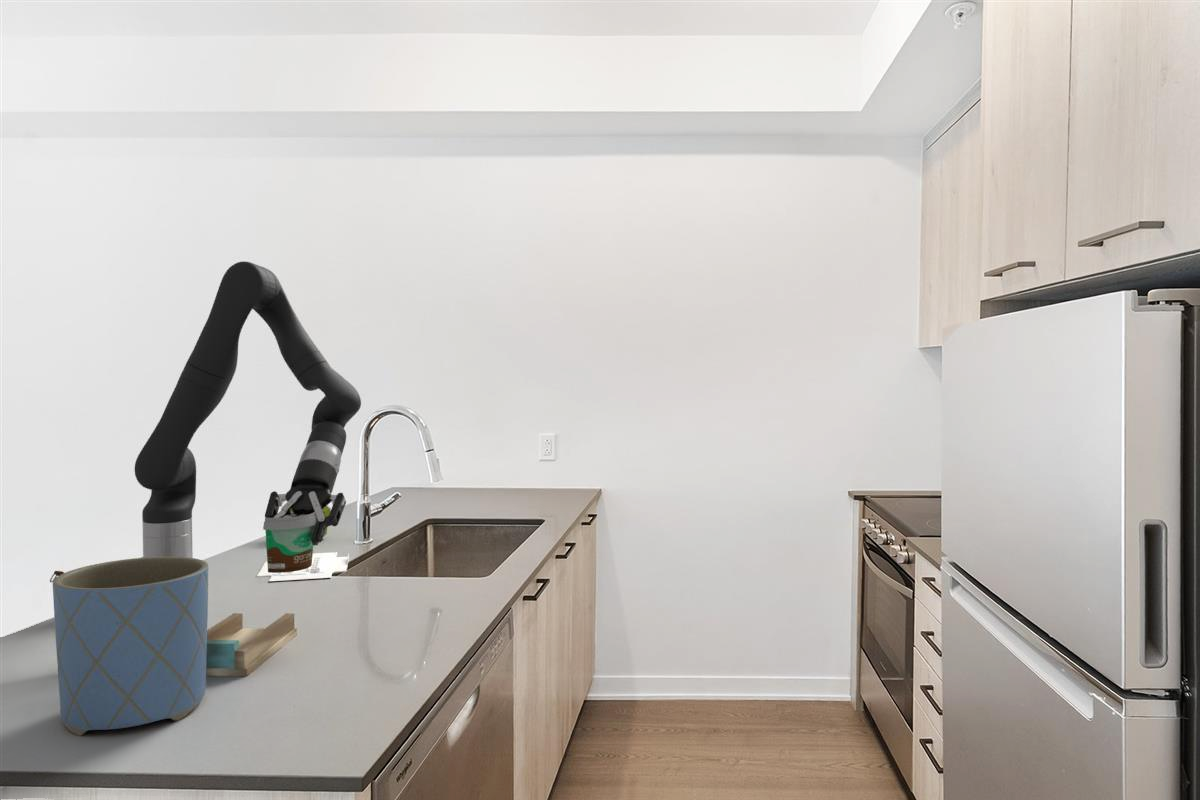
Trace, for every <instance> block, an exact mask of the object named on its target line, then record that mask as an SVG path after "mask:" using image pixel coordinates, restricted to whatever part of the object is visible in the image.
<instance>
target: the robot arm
mask: <svg viewBox="0 0 1200 800" xmlns="http://www.w3.org/2000/svg"><path fill="white" fill-rule="evenodd" d="M252 310H253V311H254V312H255V313H257V315H259V317H261V319H263V321H264V322H265V323H266V324H267V326H268V327H269V329H270V331H271V332H272V334H273V335H274V337H275V341H276V344H277V346H278V349H279V352H280V354H281V356H282V358H283V360H284V362H285V364H286V365H287V367H288V369H289V370H290V371H291V373H292V374H293V376H294V377H295V378H296V380H297V382H299V384H300V386H302V388H303V389H305V390H306V391H309V392H312V391H316V390H318V389H319V390H320V391H321V392H322V393H323V394H324V396H323V398H322V399H321V400H320V401H319V402H318V403H317V405H316V407H315V408H314V412H313V413H312V414H313V415H312V418H311V432H310V433H309V436H308V439H307V441H306V442H307V443H306V444H305V447H304V449H303V452H302V454H301V455H300V458H299V461H298V464H297V467H296V470H295V473H294V476H293V479H292V482H291V485H290V488H289V490H287V492H286V493H280V494H279V493H278V492H277V491H275V490H274V491H271V492H270V495H269V498H268V503H267V506H266V509H265V512H264V519H265V518H279V517H281V516H283V515H286V514H312V513H314V512H315V513H316V516H317V518H318V522H316V524H315V527H314V530H313V534H312V537H311V542H312V544H313V546H318V545H319V543H321V542H323V539H324V537H325V536H324V533H325V529H326V528H327V529H328V527H330V526H332V527H337V526H338V525H339V522H340V520H341V517H342V514H343V512H344V510H345V506H346V505H347V501H346V498H345V496H344V492H338V493H337V494H332V493H333V491H334V487H335V484H336V480H337V477H338V474H339V472H340V467H341V463H342V455H343V452H344V449H345V446H346V442H347V432H346V430H345V427H346V425H347V423H348V422H349V421H350V420H351V419H352V418H353V417H354V416H355V415H356V414H357V413H358V412H359V410H360V409H361V407H362V398H361V396H360V394H359V392H358V390H357V389H356V388H355V386H354V385H353V384H352V383H350V381H348V380H347V379H345V377H343V376H342V375H341V374H340V373H339V372H337V371H336V370H335V369H334V368H332V367H331V366H330V364H329V362H328V361H327V359H326V358H325V357H324V355H323V354H322V353H321V351H320V349H319V348H318V346H316V344H315V342H314V341H313V340H312V338H311V337H310V336H309V334H308V332H307V331H306V330H305V327H304V326H303V325H302V322H301V321H300V320H299V317H297V314H296V313H295V310H294V309H293V307H292V305H291V303H290V301H289V299H288V296H287V295H286V292H285V290H284V288H283V286H282V284H281V282H280V280H279V278H278V277H277V275H276V274H275V273H274V272H273V271H272V270H271V269H268V268H266V267H264V266H261V265H258V264H256V263H253V262H250V261H239V262H236V263H234V264H233V265H230V267H228V269H227V270H226V271H225V273H224V275H223V276H222V279H221V281H220V284H219V286H218V290H217V292H216V295H215V297H214V301H213V304H212V307H211V309H210V313H209V315H208V317H207V320H206V322H205V324H204V326H203V328H202V330H201V332H200V335H199V336H198V339H197V341H196V343H195V345H194V348H193V349H192V351H191V353H190V355H189V357H188V359H187V361H186V363H185V365H184V367H183V369H182V372H181V373H180V376H179V377H178V380H177V383H176V385H175V386H174V389H173V391H172V393H171V396H170V397H169V399H168V401H167V404H166V406H165V409H164V410H163V413H162V415H161V418H160V419H159V421H158V422H157V424H156V426H155V427H154V429H153V431H152V432H151V434H150V436H149V438H148V439H147V441H146V442H145V444H144V445H143V447H142V449H141V450H140V452H139V454H138V456H137V458H136V460H135V464H134V476H135V479H136V480H137V483H138V484H139V485H141V487H143V488H145V489H147V490H149V491H150V490H151V491H150V497H149V500H148V501H147V503H146V504H145V506H144V507H143V509H142V515H141V516H142V556H141V557H140V558H146V557H188V558H193V509H194V506H195V503H196V497H197V496H196V495H197V491H196V490H197V464H196V459H195V456H194V454H193V451H192V450H191V449H190V448H189V445H190V443H191V440H192V439H193V436H194V435H195V433H197V430H198V429H199V428H200V427H201V425H202V424H204V422H205V421H206V420H207V419H208V418H209V416H210V415H211V414H212V413H213V412H214V411H215V409H216V408H217V407H218V405H219V404H220V403H221V401H222V400H223V398H224V397H225V395H226V393H227V391H228V389H229V387H230V385H231V382H232V381H233V378H234V375H235V373H236V370H237V365H238V357H239V340H240V335H241V333H242V329H243V327H244V324H245V323H246V321H247V319H248V317H249V315H250V313H251V312H252ZM284 502H285V504H284ZM283 504H284V505H283ZM329 504H332V506H331V511H330V514H329V516H327V517H325V516H324V513H323V511H322V509H323V508H325V507H326V506H328V505H329ZM280 507H281V509H280ZM290 509H292V511H291V512H290ZM279 510H280V511H279ZM323 536H324V537H323Z"/></svg>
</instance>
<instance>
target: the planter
mask: <svg viewBox="0 0 1200 800" xmlns="http://www.w3.org/2000/svg"><path fill="white" fill-rule="evenodd" d="M54 578H55V577H54ZM54 578H53V579H54ZM53 579H52V580H53ZM52 595H53V596H52V597H53V613H54V615H53V616H54V635H55V648H56V649H55V650H56V664H57V677H58V692H59V707H60V716H61V720H62V722H63V723H64V726H65V727H66V728H67V730H69V731H70V732H71V733H72V734H74V735H77V736H84V735H86V733H87V732H88V731H97V730H98V731H99V730H102V731H105V730H117V729H118V730H119V729H124V728H125V729H126V728H131V727H136V726H141V725H146V724H151V723H153V722H156V721H157V722H158V721H162V720H165V719H171V720H172V721H174V722H178V721H180V720H182V719H183V718H185V717H186V716H187V715H188V714H190V713H191V712H192V711H193V710H194V709H195V708H196V707H197V705H199V703H200V702H201V701H202V699H203V697H204V696H205V692H206V687H207V686H206V685H207V676H206V654H207V630H208V621H209V620H208V618H209V616H208V613H209V563H208V562H206V561H205V560H202V559H200V558H188V557H146V558H141V557H136V558H128V559H119V560H113V561H112V560H111V561H106V562H105V561H104V562H100V563H95V564H91V565H85V566H82V567H78V568H75V569H72V570H71V569H70V570H69V571H66V572H64V573H63V574H61V575H59V576H57V577H56V578H55V579H54V580H53V582H52Z"/></svg>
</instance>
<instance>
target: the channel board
mask: <svg viewBox="0 0 1200 800" xmlns="http://www.w3.org/2000/svg"><path fill="white" fill-rule="evenodd" d="M243 619H244V618H243V612H241V613H240V612H239V613H237V612H234V613H232V614H231V615H229V616H228V617H225V618H224V619H222V620H221V621H219V622H218V623H216V624H214V625H213V626H211V627H210V628H207V654H206V677H213V676H215V677H248V676H249V675H250V674H252V673H253V672H254V671H255V670H257V668H260V666H261V665H263V663H265V662H266V661H267V660H268V659H270V658H271V657H272V656H273V655H274V654H276V653H277V652H278V651H280V649H282V648H283V647H284V646H285V645H286V644H288V643H289V642H290V641H291V640H293V639H294V638H295V637H296V636H297V633H298V632H297V631H298V630H297V628H295V613H291V612H290V613H289V612H288V613H284V614H283V615H282V616H280V617H279V618H277V620H275V621H274V622H272V623H271V624H269V625H268V626H266V627H263V628H261V627H260V628H255V627H254V628H253V627H251V628H249V627H248V628H247V627H246V628H245V627H243V623H244V622H243Z"/></svg>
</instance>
